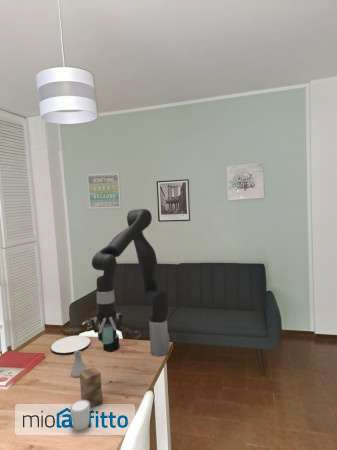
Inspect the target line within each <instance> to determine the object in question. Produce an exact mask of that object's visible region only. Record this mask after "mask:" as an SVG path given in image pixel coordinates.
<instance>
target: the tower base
mask: <svg viewBox="0 0 337 450" xmlns="http://www.w3.org/2000/svg"><path fill="white" fill-rule="evenodd" d="M102 390H103V389H102V387H101V388H99V389H97V390H95V391H93V392H90V393H88V394H87V393H86V392H85V391H84V390H83V389H82V388H81V386H80V398H81V399H80V400H87V401H89V402H90V409H92V408H94V407H95V408H96V407H97V406H98V407H99V406H100V405H103V391H102Z"/></svg>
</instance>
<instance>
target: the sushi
mask: <svg viewBox="0 0 337 450" xmlns="http://www.w3.org/2000/svg"><path fill="white" fill-rule="evenodd" d="M119 335H120V334H118V333H117V332H116V337H115V339H113V342H112V343H110V344H103V343H102V346H103V347H102V348H103V351H104V352H108V353H113V352H116V351H118V350H119V349H120V337H119Z"/></svg>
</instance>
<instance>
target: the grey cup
mask: <svg viewBox="0 0 337 450" xmlns="http://www.w3.org/2000/svg"><path fill="white" fill-rule="evenodd" d="M69 411H70V416H71V422H72V428H73V429H74V430H76V431H80V430H81V431H82V430H84V429H86V428H87V427H88V426H89V425H90V413H91V408H90V402H89V401H87V400H81V399H79V400H77V401H75V402H72V403H71V405H70V407H69Z"/></svg>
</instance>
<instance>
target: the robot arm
mask: <svg viewBox="0 0 337 450" xmlns="http://www.w3.org/2000/svg"><path fill="white" fill-rule="evenodd" d="M126 220H127V227H126V228H125V229H123V230H122V231H121V232H119V233H117V235H115V236H114V238H112V239H111V241H110V242H109V243H108V245H106V246H105V247H103V248H102V249H100V250H98V251H97V252H96V253H95V254H94V256H93V257H92V259H91V266H92V268H93V269H94V270H97V271H103V275H100V276H98V277H97V278H96V312H97V313H96V316H95V317H90V318H89V321H90V324H91V329H92V330H93V332H94V333H95V334H96V333H97V339H98V341H99V342H101V343H102V329H103V327H104V325H106V324H111V325H112V326H113V339H115V337H116V333H117V330H118V329H120V328H121V326H122V320H123V313H121V312H118V313H116V302H115V300H116V297H115V295H116V294H115V290H114V289H115V288H114V279H115V274H116V270H117V265H118V264H117V259H116V258H118V257H120V256H121V255H122V254H123V253H124V251H125V250H126V249H127V247H128V246H129V245H130V244H131V243H132V242H133V243H134V244H133V245H134V247H135V248H134V249H135V252H136V256H137V260H138V265H139V269H140V273H141V277H142V281H143V288H144V297H145V301H146V303H148V305H149V306H152V312H151V313H149V316H148V320H149V321H148V324H149V326H148V327H149V343H150V344H149V346H150V354H151V355H153V356H155V357H156V356H157V357H162V356H165V355H167V354H168V353H170V352H171V350H170V349H171V347H170V346H171V344H170V334H169V333H168V315H169V296H168V294H167V292H166V291H165V290H163V289H160V288H159V285H158V282H157V270H158V260H157V259H158V258H157V255H156V251H155V249H154V247H153V246H152V245H151V243H149V241H148V240H147V239H146V237H145V236H144V231H145V230H146V229H147V228H148V227H150V224H152V220H153V218H152V213H151V211H150V210H149V209H147V208H140V209H131V210H129V211H128V213H127V215H126ZM115 319H116V324H115V321H114V320H115ZM97 321H98V325H97V326H98V327H97V326H96V323H97Z"/></svg>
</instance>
